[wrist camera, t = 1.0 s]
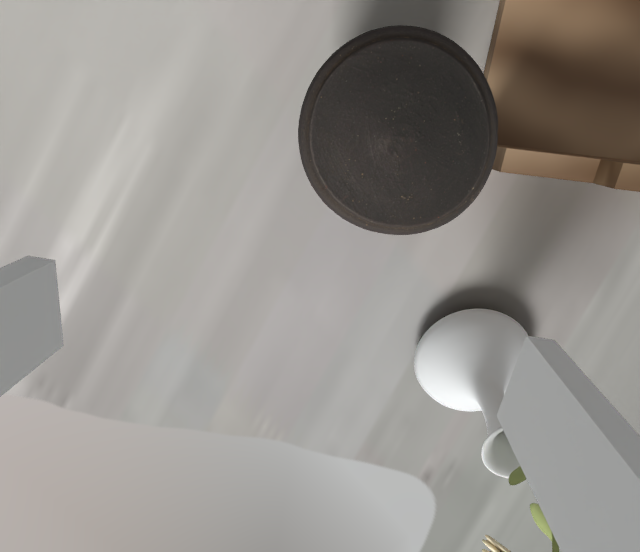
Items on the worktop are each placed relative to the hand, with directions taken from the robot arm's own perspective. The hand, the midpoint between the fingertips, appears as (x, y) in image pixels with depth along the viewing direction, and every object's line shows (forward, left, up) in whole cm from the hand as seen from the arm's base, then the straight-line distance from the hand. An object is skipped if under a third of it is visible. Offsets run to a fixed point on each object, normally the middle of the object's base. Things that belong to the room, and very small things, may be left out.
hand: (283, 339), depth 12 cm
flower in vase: (+16, +16, -28) cm, 36 cm away
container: (-5, +3, -28) cm, 29 cm away
